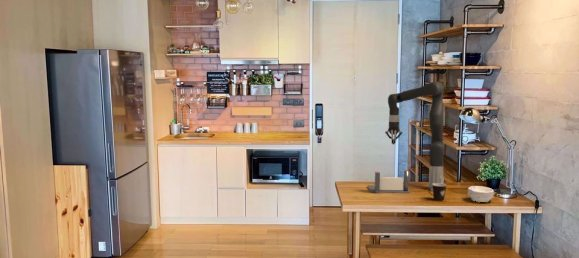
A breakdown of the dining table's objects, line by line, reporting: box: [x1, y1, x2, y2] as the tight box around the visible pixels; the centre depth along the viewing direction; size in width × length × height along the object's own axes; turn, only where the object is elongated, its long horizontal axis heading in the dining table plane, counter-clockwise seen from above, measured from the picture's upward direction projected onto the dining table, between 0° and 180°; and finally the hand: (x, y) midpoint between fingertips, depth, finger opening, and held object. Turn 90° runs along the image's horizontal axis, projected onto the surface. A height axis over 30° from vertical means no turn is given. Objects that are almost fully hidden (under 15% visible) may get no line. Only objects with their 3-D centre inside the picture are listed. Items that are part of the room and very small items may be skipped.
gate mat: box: [367, 184, 411, 194], centre depth 321 cm, size 27×17×1 cm, turn 87°
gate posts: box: [374, 169, 410, 194], centre depth 312 cm, size 23×3×15 cm, turn 95°
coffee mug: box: [428, 183, 447, 202], centre depth 294 cm, size 12×9×10 cm
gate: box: [380, 176, 404, 190], centre depth 314 cm, size 19×2×12 cm, turn 87°
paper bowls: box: [467, 185, 495, 203], centre depth 292 cm, size 15×15×8 cm
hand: (393, 144), depth 339 cm, fingers closed
